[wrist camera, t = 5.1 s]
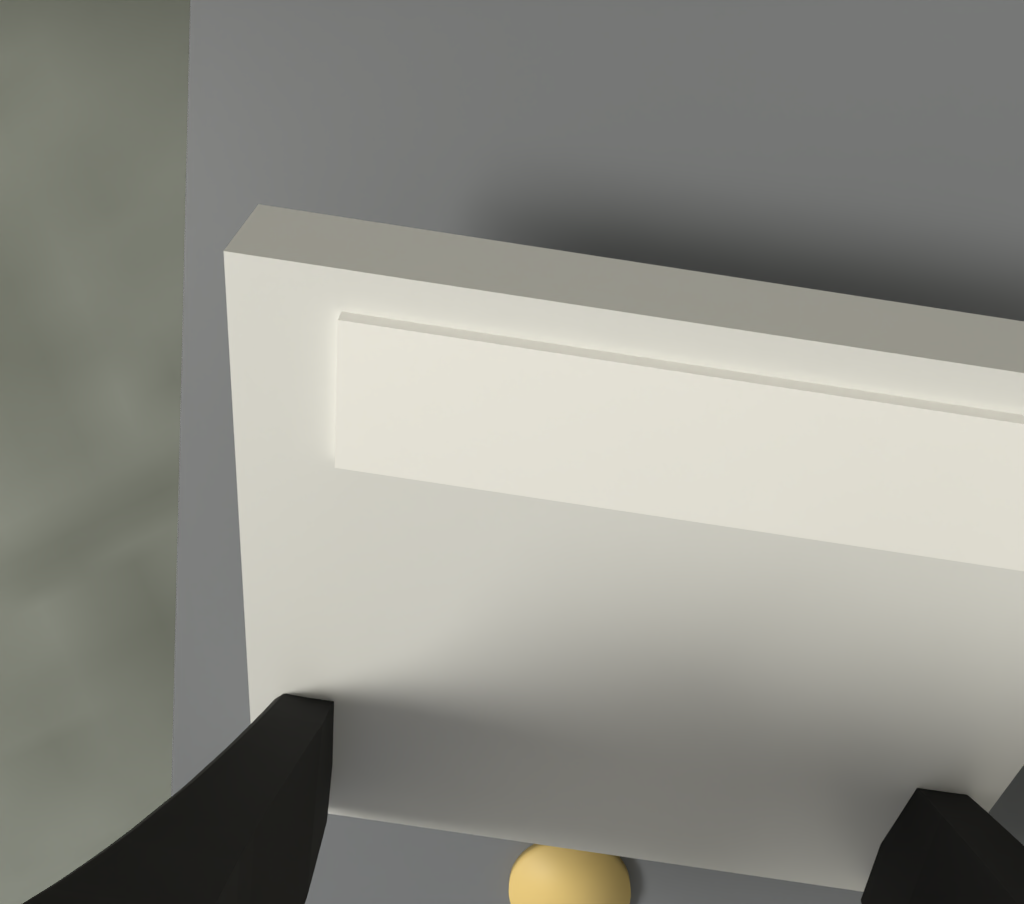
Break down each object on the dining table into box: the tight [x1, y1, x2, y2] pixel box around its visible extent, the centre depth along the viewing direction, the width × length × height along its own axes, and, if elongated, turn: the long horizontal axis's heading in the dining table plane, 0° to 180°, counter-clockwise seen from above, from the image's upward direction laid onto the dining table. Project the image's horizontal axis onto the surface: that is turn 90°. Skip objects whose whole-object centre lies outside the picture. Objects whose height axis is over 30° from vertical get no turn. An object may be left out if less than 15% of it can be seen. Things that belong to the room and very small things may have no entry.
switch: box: [224, 204, 1024, 892], centre depth 11 cm, size 8×9×1 cm
